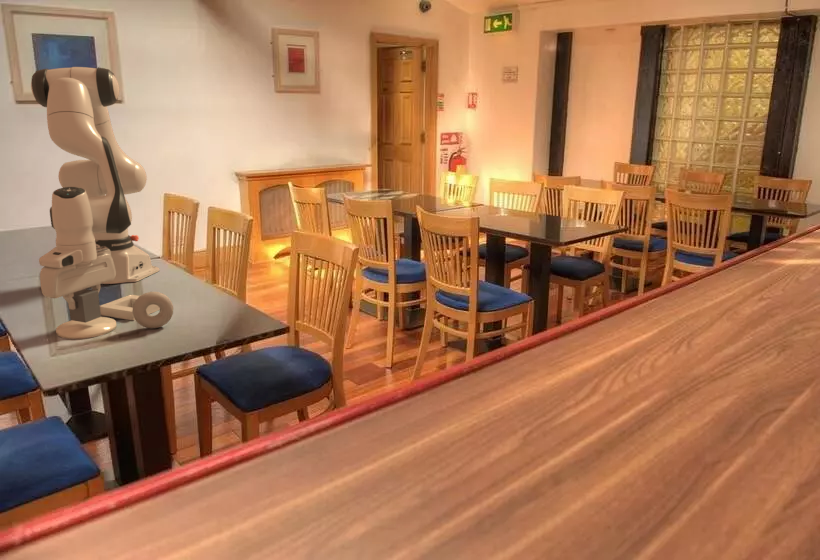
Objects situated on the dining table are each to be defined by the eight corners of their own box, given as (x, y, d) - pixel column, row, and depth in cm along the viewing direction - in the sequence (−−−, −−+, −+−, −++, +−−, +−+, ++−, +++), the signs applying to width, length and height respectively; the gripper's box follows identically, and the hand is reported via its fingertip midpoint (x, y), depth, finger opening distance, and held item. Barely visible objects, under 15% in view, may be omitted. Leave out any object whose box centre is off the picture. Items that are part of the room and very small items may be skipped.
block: (86, 314, 168) (83, 288, 166) (101, 316, 166) (97, 291, 164) (70, 320, 163) (67, 294, 161) (85, 322, 162) (82, 296, 160)
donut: (134, 332, 164) (130, 295, 161) (134, 328, 167) (130, 291, 164) (175, 327, 168) (172, 291, 165) (174, 323, 171) (171, 288, 168)
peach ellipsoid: (88, 317, 174) (87, 314, 174) (128, 324, 169) (128, 320, 169) (43, 334, 161) (43, 330, 161) (85, 342, 157) (85, 338, 157)
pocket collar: (131, 302, 187) (130, 294, 187) (164, 307, 183) (163, 299, 183) (99, 314, 176) (98, 306, 176) (133, 320, 172) (132, 311, 172)
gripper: (100, 243, 170) (105, 292, 174) (32, 260, 152) (40, 315, 156) (118, 245, 168) (124, 295, 172) (52, 263, 150) (60, 318, 154)
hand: (84, 305), depth 164 cm, fingers closed on block, 5 cm apart
